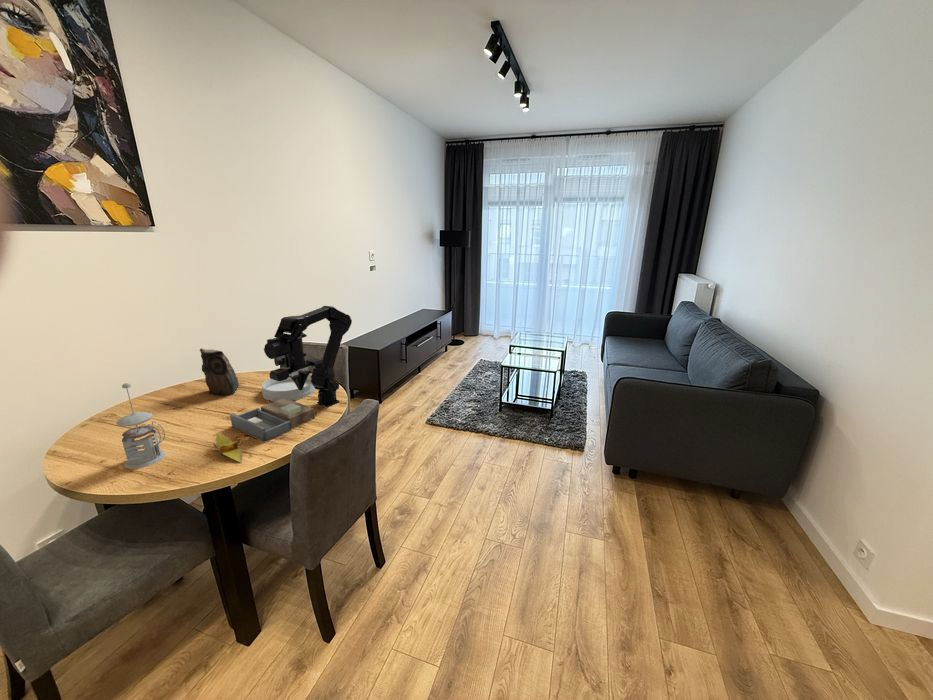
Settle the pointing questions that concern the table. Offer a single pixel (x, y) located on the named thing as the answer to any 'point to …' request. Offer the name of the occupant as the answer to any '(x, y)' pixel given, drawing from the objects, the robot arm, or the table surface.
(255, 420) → the cream tile
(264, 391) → the dish
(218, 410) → the table surface
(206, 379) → the owl
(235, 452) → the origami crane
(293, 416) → the taupe pedestal platform
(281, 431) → the box
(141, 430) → the french press
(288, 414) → the sage tile
